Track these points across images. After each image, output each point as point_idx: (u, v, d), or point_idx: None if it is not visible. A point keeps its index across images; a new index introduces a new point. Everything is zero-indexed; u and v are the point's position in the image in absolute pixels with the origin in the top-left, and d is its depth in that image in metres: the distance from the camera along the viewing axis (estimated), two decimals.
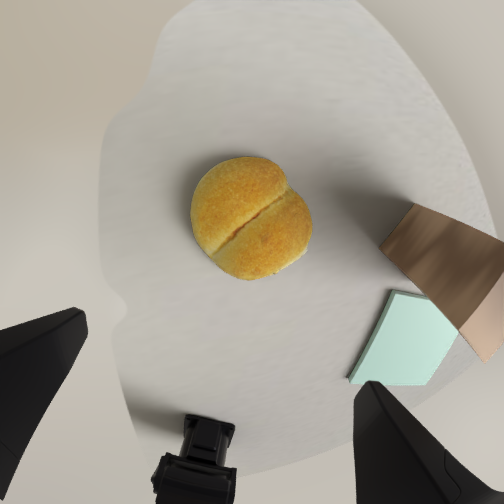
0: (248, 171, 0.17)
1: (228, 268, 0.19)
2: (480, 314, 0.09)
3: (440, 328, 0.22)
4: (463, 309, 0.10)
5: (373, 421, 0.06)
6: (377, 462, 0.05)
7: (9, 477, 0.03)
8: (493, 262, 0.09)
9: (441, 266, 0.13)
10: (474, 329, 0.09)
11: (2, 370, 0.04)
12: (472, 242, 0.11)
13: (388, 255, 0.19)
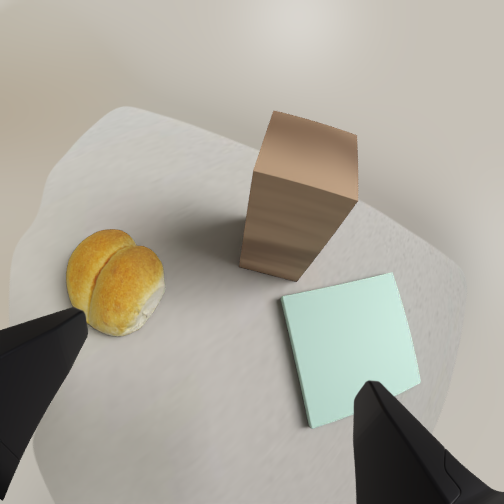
0: (98, 233, 0.20)
1: (97, 317, 0.17)
2: (271, 154, 0.12)
3: (373, 309, 0.21)
4: None
5: (373, 421, 0.06)
6: (377, 462, 0.05)
7: (10, 477, 0.03)
8: None
9: None
10: (280, 167, 0.12)
11: (2, 370, 0.04)
12: None
13: None
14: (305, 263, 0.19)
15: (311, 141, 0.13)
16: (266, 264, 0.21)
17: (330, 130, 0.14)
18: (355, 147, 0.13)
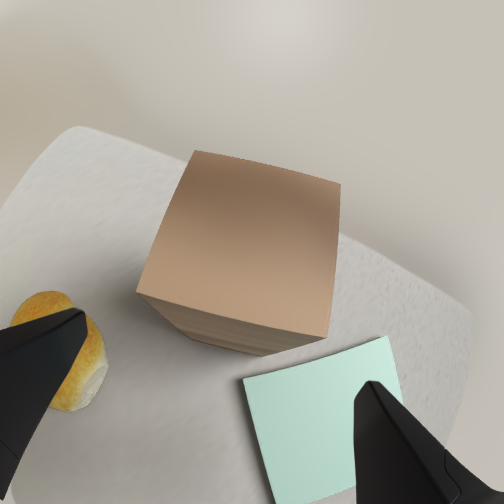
0: (33, 299, 0.14)
1: None
2: (171, 250, 0.07)
3: (359, 385, 0.16)
4: None
5: (373, 421, 0.06)
6: (377, 462, 0.05)
7: (9, 477, 0.03)
8: None
9: None
10: (182, 279, 0.07)
11: (2, 369, 0.04)
12: None
13: (187, 334, 0.16)
14: (266, 352, 0.14)
15: (252, 211, 0.08)
16: (219, 344, 0.16)
17: (293, 179, 0.08)
18: (336, 212, 0.08)
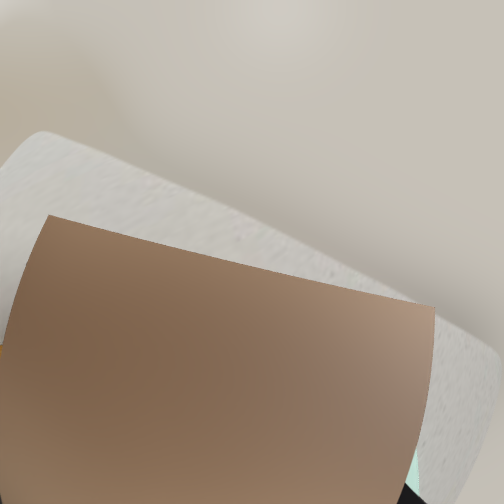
0: None
1: None
2: (23, 485, 0.01)
3: None
4: None
5: None
6: None
7: None
8: None
9: None
10: None
11: None
12: None
13: None
14: None
15: (175, 445, 0.02)
16: None
17: (314, 315, 0.03)
18: (419, 404, 0.02)
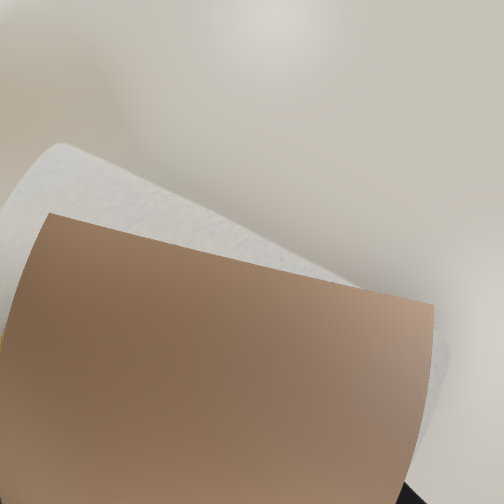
0: None
1: None
2: (23, 483, 0.01)
3: None
4: None
5: None
6: None
7: None
8: None
9: None
10: None
11: None
12: None
13: None
14: None
15: (175, 442, 0.02)
16: None
17: (314, 313, 0.03)
18: (418, 402, 0.02)
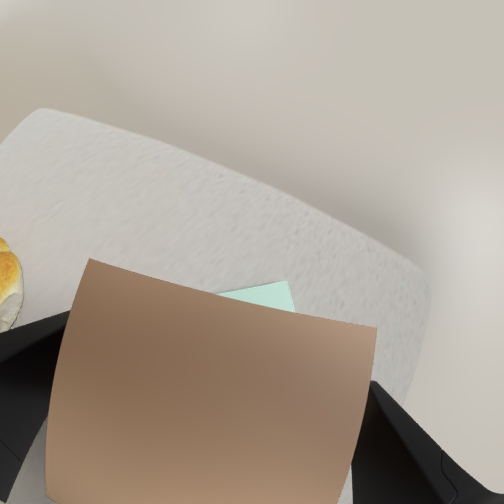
0: None
1: None
2: (70, 462, 0.03)
3: None
4: None
5: (369, 421, 0.06)
6: (373, 462, 0.05)
7: (12, 479, 0.03)
8: None
9: None
10: (96, 503, 0.02)
11: (5, 372, 0.04)
12: None
13: None
14: None
15: (191, 417, 0.03)
16: None
17: (281, 333, 0.04)
18: (360, 398, 0.04)
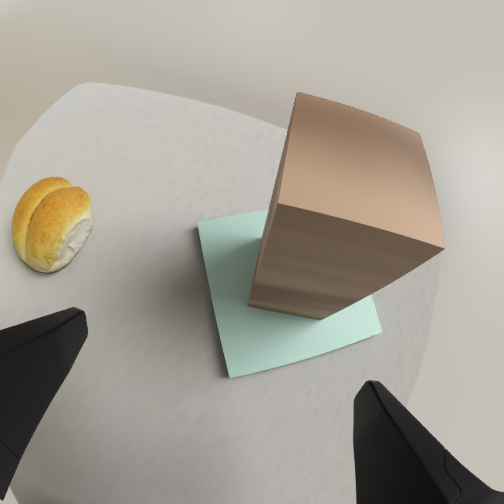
0: (40, 180, 0.18)
1: (29, 250, 0.15)
2: (306, 167, 0.07)
3: None
4: (278, 190, 0.07)
5: (373, 421, 0.06)
6: (377, 462, 0.05)
7: (9, 477, 0.03)
8: (288, 132, 0.09)
9: None
10: (324, 192, 0.07)
11: (2, 370, 0.04)
12: (279, 166, 0.11)
13: (249, 297, 0.16)
14: (338, 307, 0.14)
15: (365, 143, 0.07)
16: (284, 306, 0.15)
17: (386, 124, 0.08)
18: (423, 152, 0.08)
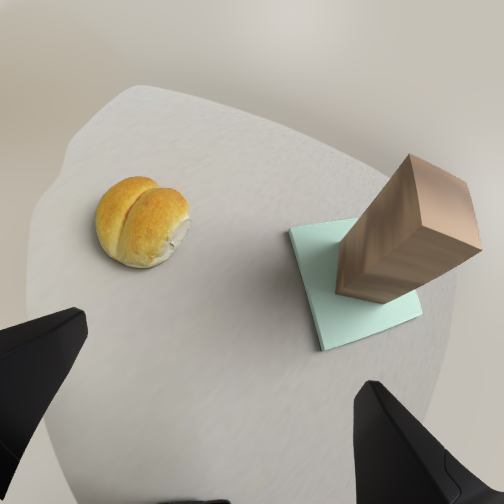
0: (128, 178, 0.22)
1: (128, 246, 0.20)
2: (427, 206, 0.11)
3: None
4: (413, 217, 0.12)
5: (373, 421, 0.06)
6: (377, 462, 0.05)
7: (9, 477, 0.03)
8: (404, 179, 0.13)
9: (380, 232, 0.16)
10: (436, 220, 0.11)
11: (2, 370, 0.04)
12: (386, 196, 0.16)
13: (344, 286, 0.20)
14: (405, 291, 0.18)
15: (445, 191, 0.12)
16: (367, 292, 0.20)
17: (451, 177, 0.13)
18: (469, 196, 0.12)
